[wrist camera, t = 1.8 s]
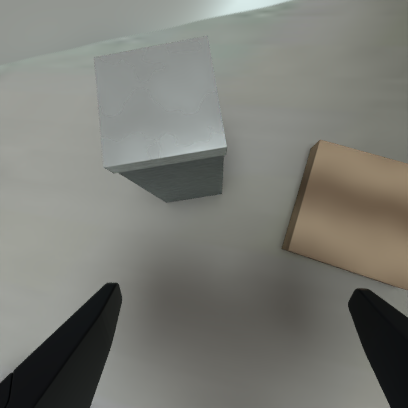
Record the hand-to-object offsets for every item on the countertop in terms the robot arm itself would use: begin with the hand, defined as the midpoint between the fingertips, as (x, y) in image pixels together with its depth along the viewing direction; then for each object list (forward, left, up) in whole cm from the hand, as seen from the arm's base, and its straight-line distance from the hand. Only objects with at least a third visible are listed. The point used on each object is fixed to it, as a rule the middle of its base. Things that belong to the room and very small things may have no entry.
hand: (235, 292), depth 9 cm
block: (+12, +1, -13) cm, 18 cm away
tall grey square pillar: (-1, +9, -12) cm, 15 cm away
